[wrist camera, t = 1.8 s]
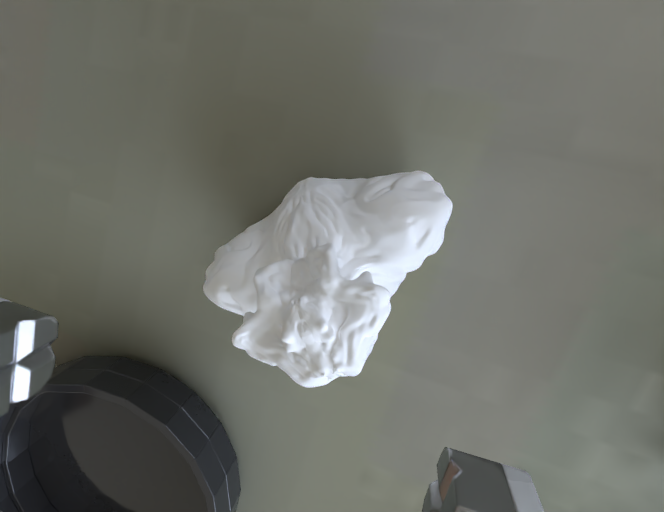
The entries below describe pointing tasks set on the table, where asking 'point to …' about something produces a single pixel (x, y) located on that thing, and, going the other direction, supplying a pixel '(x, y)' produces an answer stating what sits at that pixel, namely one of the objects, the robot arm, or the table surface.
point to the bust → (327, 270)
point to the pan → (115, 444)
